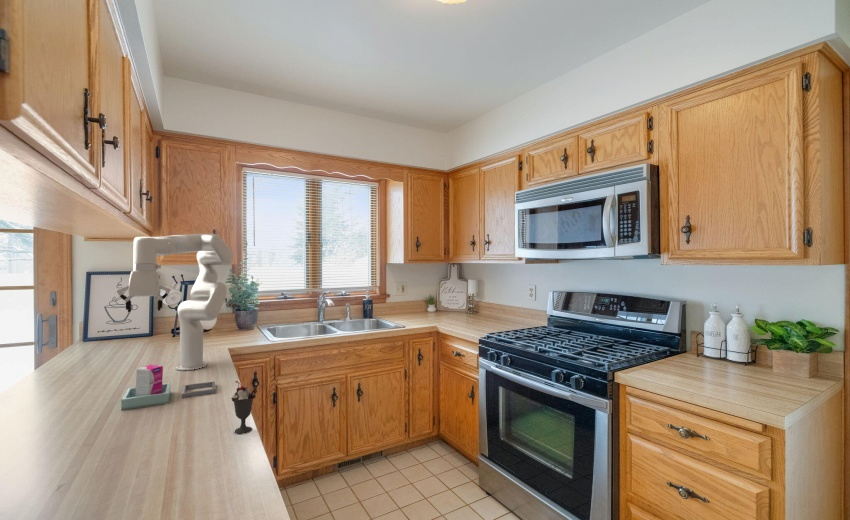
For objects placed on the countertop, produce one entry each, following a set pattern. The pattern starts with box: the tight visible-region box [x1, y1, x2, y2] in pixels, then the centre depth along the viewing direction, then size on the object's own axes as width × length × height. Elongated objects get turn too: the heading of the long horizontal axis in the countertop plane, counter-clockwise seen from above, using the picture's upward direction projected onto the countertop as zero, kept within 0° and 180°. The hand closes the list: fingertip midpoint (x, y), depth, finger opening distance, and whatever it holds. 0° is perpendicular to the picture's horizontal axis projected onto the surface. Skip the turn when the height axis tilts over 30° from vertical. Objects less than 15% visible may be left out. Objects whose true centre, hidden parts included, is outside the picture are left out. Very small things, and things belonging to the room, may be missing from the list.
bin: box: [120, 382, 172, 411], centre depth 139 cm, size 13×13×4 cm
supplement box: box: [135, 364, 164, 397], centre depth 140 cm, size 6×6×12 cm
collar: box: [181, 381, 217, 399], centre depth 150 cm, size 11×11×2 cm
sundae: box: [230, 380, 256, 435], centre depth 116 cm, size 7×7×15 cm
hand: (144, 310), depth 154 cm, fingers open, 9 cm apart
